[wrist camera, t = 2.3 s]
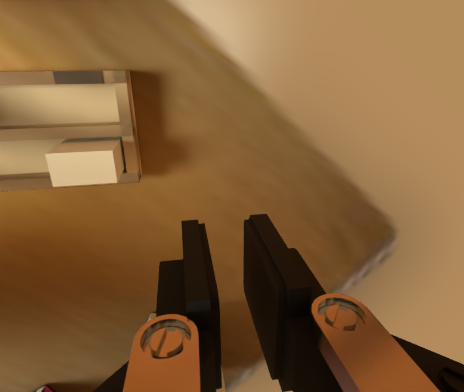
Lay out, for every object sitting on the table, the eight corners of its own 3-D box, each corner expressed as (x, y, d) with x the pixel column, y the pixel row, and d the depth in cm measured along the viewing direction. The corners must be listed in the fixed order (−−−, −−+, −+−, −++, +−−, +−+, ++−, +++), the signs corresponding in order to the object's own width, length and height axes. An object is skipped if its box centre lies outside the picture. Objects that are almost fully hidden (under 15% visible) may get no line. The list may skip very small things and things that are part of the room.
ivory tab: (126, 164, 25) (117, 182, 21) (72, 167, 24) (52, 187, 20) (122, 136, 24) (112, 150, 20) (66, 138, 24) (45, 153, 20)
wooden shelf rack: (142, 172, 27) (139, 182, 24) (-104, 187, 24) (-134, 200, 21) (129, 70, 23) (124, 70, 21) (-154, 73, 21) (-197, 74, 18)
